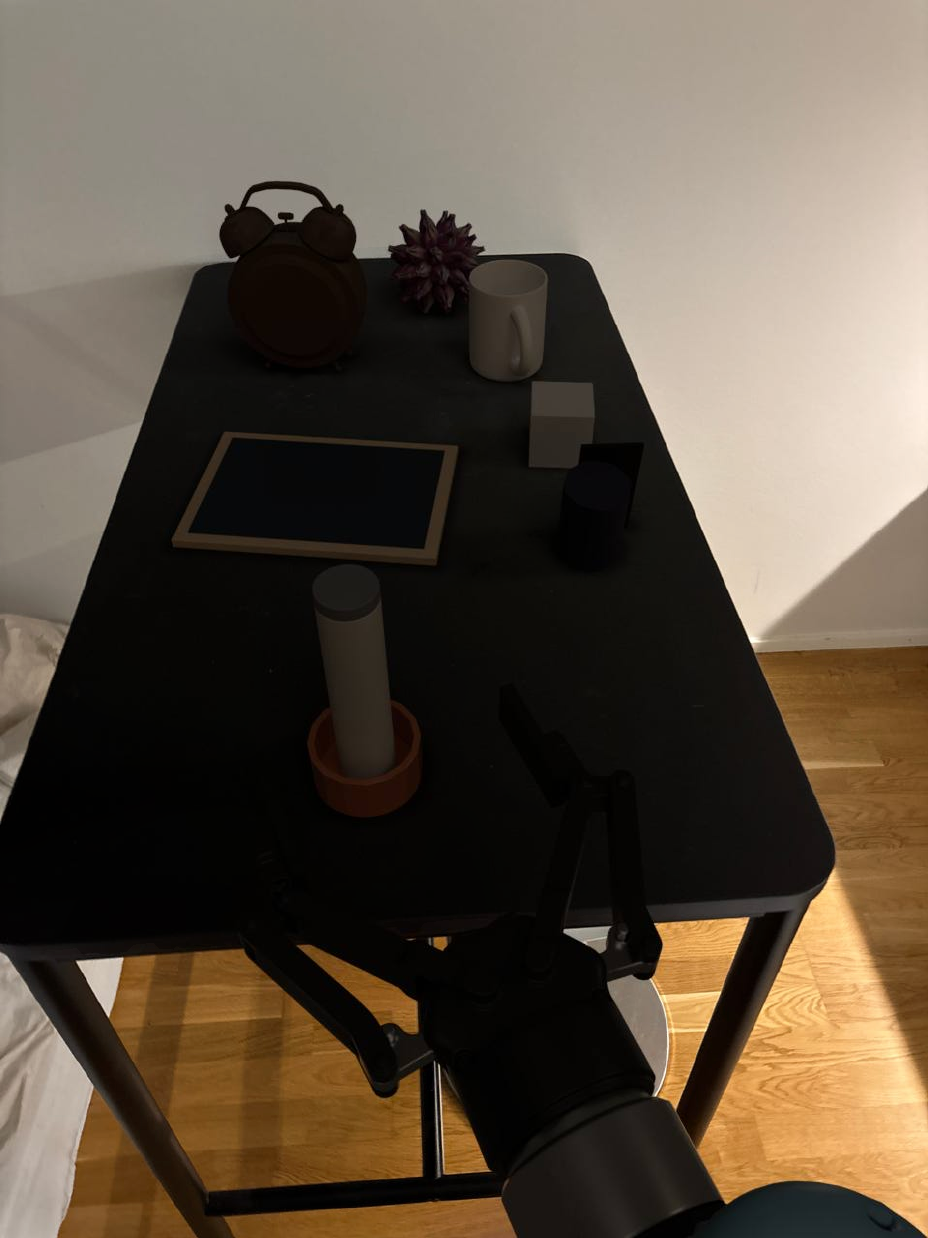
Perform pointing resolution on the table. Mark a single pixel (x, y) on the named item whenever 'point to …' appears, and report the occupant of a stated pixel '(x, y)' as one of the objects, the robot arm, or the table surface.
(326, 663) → the grey-capped cream cylinder
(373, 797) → the bowl
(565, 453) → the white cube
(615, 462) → the speaker
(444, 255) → the flower
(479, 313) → the mug
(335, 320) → the alarm clock
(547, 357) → the table surface
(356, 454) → the picture frame
